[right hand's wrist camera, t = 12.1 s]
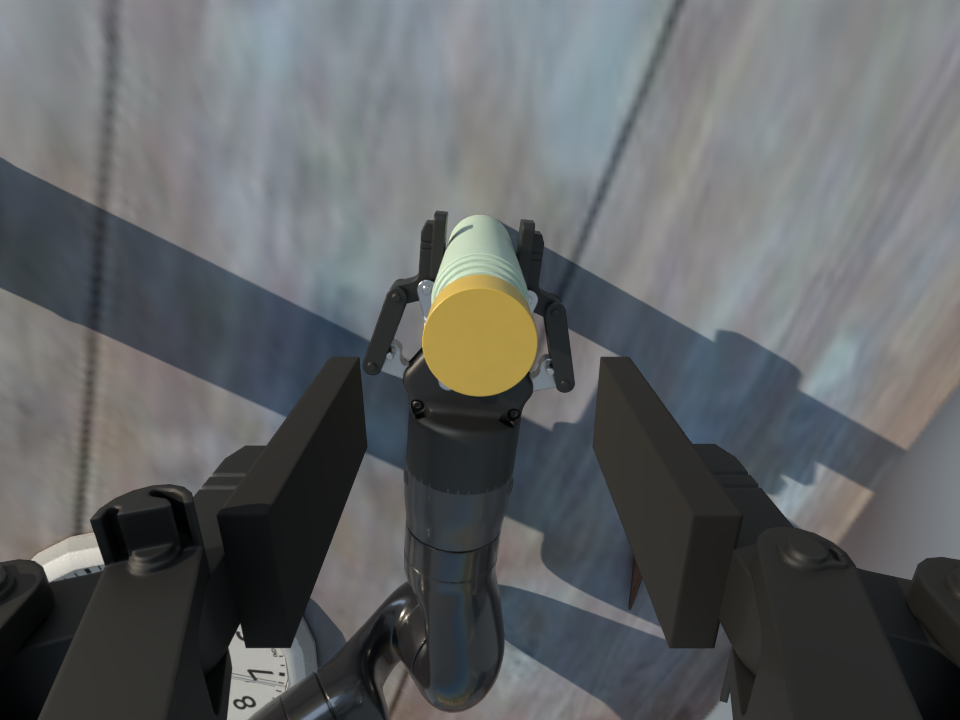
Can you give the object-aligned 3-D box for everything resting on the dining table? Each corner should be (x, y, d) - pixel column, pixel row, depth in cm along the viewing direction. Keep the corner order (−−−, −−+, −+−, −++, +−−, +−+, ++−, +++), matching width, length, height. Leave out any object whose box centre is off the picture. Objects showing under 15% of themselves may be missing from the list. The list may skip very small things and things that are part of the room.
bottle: (454, 209, 37) (427, 270, 18) (516, 220, 37) (553, 291, 19) (444, 271, 39) (411, 386, 20) (504, 281, 39) (527, 404, 20)
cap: (435, 265, 20) (430, 278, 18) (542, 283, 20) (549, 298, 18) (421, 365, 21) (415, 387, 19) (521, 381, 22) (525, 404, 20)
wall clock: (365, 730, 54) (113, 795, 58) (368, 714, 55) (122, 778, 59) (210, 498, 44) (-84, 596, 47) (219, 487, 45) (-66, 582, 49)
